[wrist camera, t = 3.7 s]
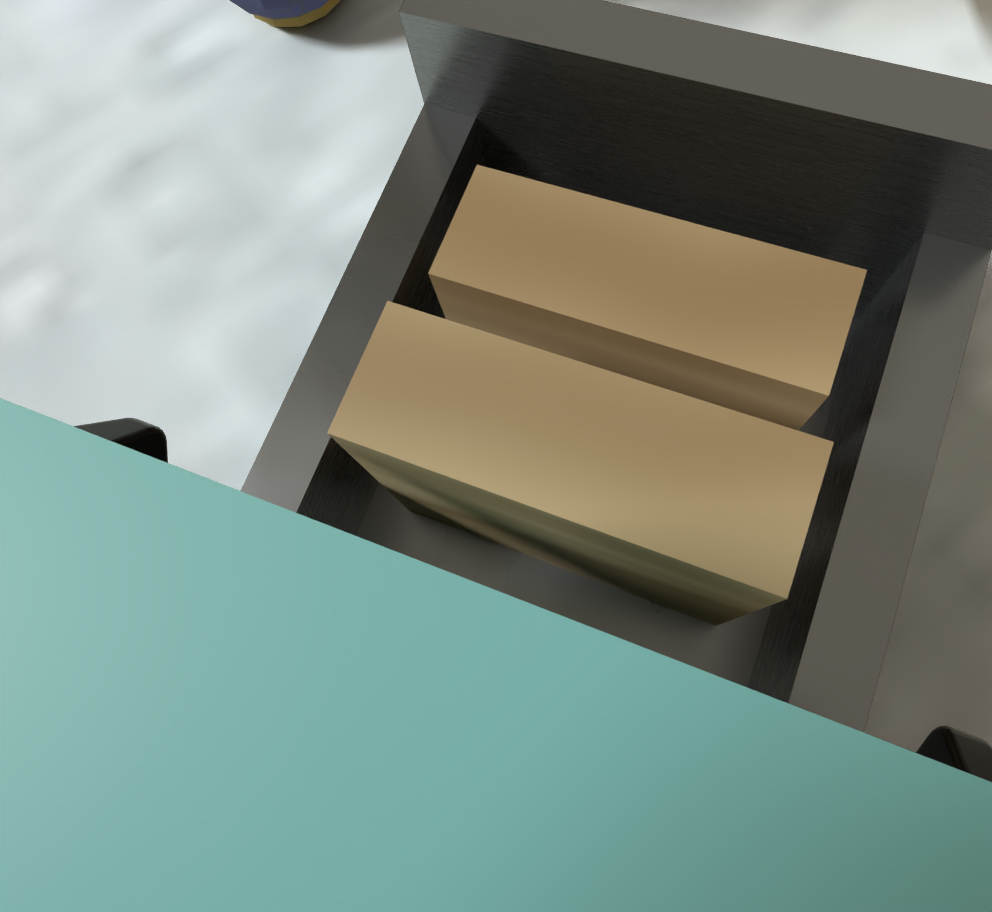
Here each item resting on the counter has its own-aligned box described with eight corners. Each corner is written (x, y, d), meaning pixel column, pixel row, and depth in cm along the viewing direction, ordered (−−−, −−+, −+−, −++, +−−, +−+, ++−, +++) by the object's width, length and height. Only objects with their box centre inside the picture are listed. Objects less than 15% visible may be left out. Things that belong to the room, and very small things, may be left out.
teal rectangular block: (653, 822, 13) (959, 1469, 2) (336, 685, 14) (-392, 712, 4) (690, 706, 13) (1083, 816, 3) (379, 582, 15) (-158, 336, 4)
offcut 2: (716, 626, 14) (787, 598, 9) (410, 511, 15) (327, 433, 10) (748, 521, 14) (834, 441, 9) (449, 418, 15) (387, 300, 10)
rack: (702, 1030, 13) (805, 1342, 7) (208, 792, 15) (-50, 872, 9) (904, 324, 16) (1101, 108, 10) (470, 202, 18) (411, -41, 12)
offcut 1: (763, 470, 14) (828, 395, 10) (466, 372, 15) (427, 273, 12) (793, 375, 15) (866, 270, 11) (502, 286, 16) (476, 164, 12)
